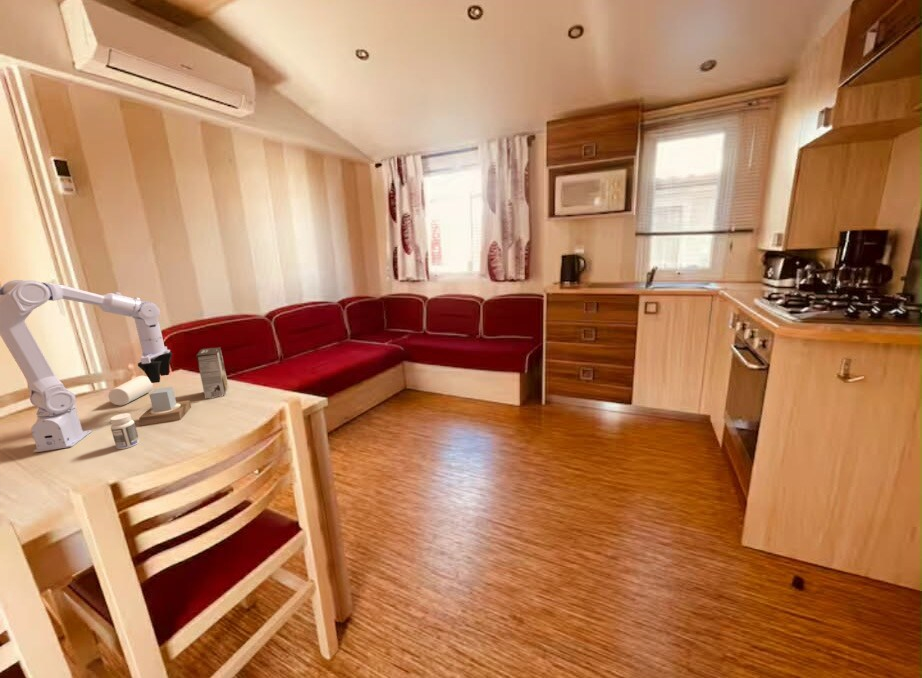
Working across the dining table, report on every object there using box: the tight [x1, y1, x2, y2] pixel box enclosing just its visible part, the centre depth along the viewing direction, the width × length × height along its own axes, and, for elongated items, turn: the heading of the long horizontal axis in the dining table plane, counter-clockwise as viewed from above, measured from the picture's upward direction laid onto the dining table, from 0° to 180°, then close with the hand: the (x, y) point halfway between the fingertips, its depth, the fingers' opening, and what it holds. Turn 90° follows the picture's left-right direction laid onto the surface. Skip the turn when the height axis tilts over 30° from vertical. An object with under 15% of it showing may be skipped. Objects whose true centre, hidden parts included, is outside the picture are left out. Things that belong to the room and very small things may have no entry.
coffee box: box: [196, 346, 229, 400], centre depth 133 cm, size 9×6×16 cm
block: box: [149, 386, 177, 412], centre depth 116 cm, size 4×4×6 cm
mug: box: [108, 375, 154, 406], centre depth 131 cm, size 10×7×12 cm
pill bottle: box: [110, 412, 140, 450], centre depth 99 cm, size 5×5×8 cm
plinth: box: [138, 399, 192, 426], centre depth 117 cm, size 10×10×3 cm
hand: (160, 378), depth 122 cm, fingers open, 7 cm apart
